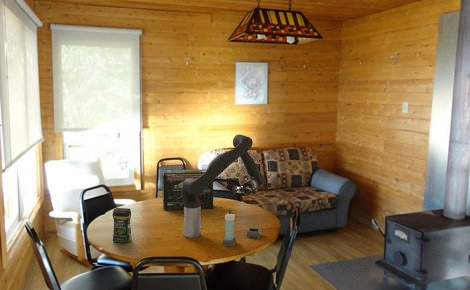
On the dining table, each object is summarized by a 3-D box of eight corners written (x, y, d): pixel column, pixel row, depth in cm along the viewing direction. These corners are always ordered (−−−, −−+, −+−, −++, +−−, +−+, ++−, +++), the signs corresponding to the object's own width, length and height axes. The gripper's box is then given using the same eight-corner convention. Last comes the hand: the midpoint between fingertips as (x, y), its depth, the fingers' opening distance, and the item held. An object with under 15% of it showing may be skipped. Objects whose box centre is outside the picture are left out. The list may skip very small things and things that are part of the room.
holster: (222, 245, 225) (222, 240, 224) (224, 241, 231) (224, 236, 230) (234, 246, 224) (234, 241, 223) (236, 242, 230) (236, 237, 230)
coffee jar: (110, 242, 227) (110, 209, 224) (117, 237, 234) (116, 205, 232) (127, 244, 225) (127, 210, 223) (133, 239, 233) (132, 206, 231)
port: (247, 237, 238) (247, 231, 237) (248, 233, 244) (248, 227, 244) (259, 238, 237) (259, 232, 236) (260, 234, 244) (260, 228, 243)
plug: (224, 244, 226) (225, 209, 223) (227, 242, 230) (227, 207, 227) (232, 245, 225) (232, 210, 222) (234, 243, 229) (234, 208, 226)
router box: (212, 204, 305) (212, 168, 301) (213, 209, 294) (214, 171, 290) (162, 206, 299) (162, 169, 295) (162, 210, 288) (162, 172, 284)
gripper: (238, 179, 258) (229, 185, 243) (260, 181, 253) (252, 187, 238) (238, 191, 259) (229, 198, 244) (260, 193, 254) (252, 200, 239)
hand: (240, 193), depth 241 cm, fingers open, 8 cm apart
